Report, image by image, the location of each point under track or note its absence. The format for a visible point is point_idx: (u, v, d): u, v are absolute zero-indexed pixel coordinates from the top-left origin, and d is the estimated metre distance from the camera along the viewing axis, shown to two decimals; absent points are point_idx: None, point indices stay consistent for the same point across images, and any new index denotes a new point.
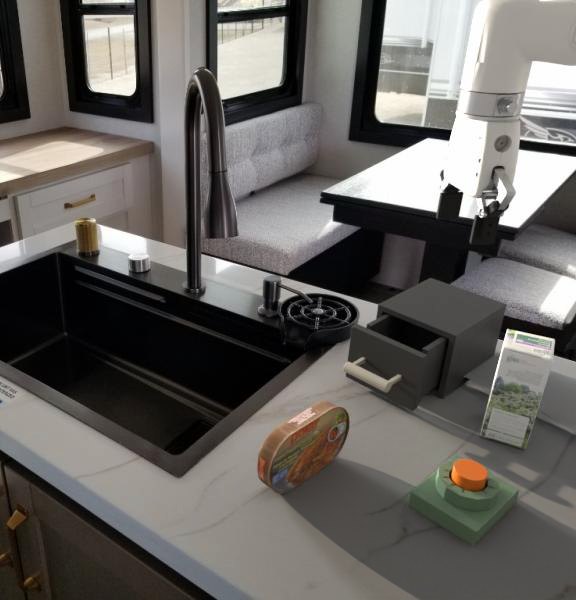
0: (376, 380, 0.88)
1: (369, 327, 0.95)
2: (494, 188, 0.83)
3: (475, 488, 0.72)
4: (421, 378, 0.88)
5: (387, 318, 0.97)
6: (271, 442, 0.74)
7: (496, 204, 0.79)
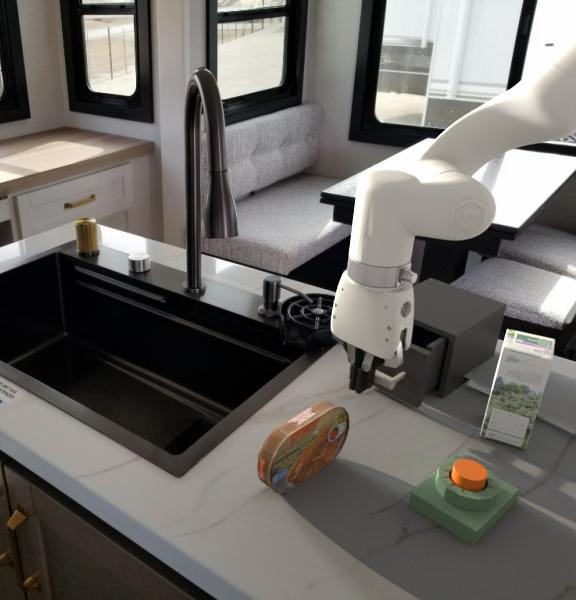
0: (381, 377, 0.89)
1: None
2: None
3: (475, 488, 0.72)
4: (425, 375, 0.89)
5: None
6: (271, 442, 0.74)
7: (381, 360, 0.84)
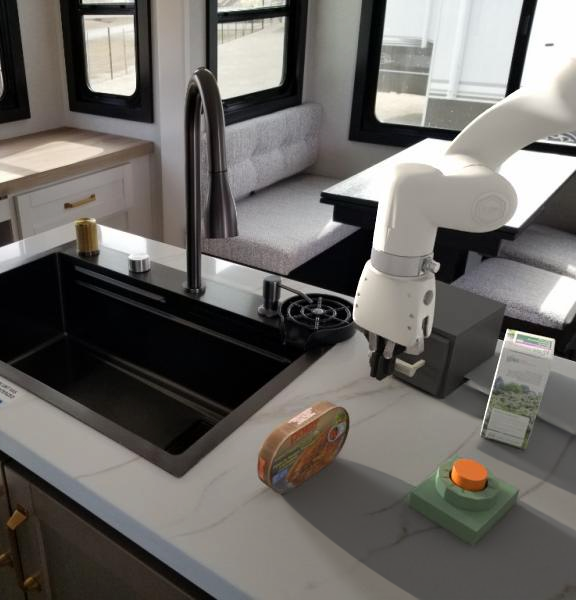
0: (401, 365, 0.91)
1: None
2: None
3: (475, 488, 0.72)
4: (444, 363, 0.91)
5: None
6: (271, 442, 0.74)
7: (403, 348, 0.87)
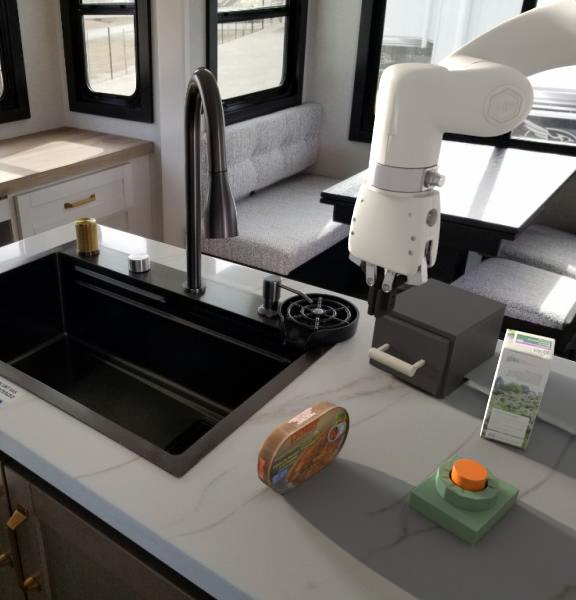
0: (401, 365, 0.91)
1: None
2: None
3: (475, 488, 0.72)
4: (444, 363, 0.91)
5: None
6: (271, 442, 0.74)
7: (404, 278, 0.78)
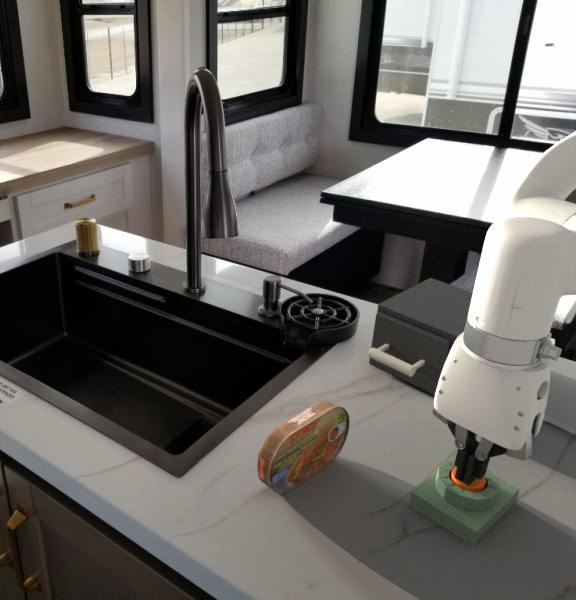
0: (401, 365, 0.91)
1: None
2: None
3: None
4: (444, 363, 0.91)
5: None
6: (271, 442, 0.74)
7: (503, 449, 0.68)
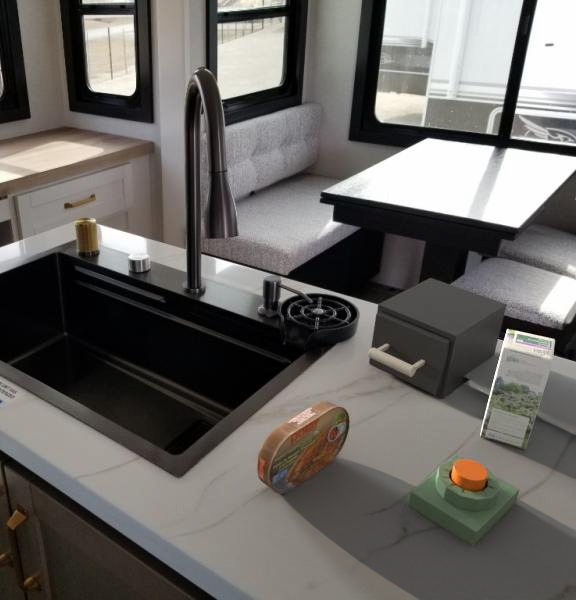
0: (401, 365, 0.91)
1: None
2: None
3: (475, 488, 0.72)
4: (444, 363, 0.91)
5: None
6: (271, 442, 0.74)
7: None
